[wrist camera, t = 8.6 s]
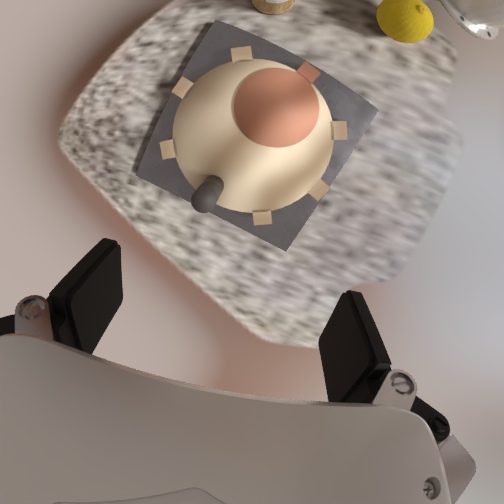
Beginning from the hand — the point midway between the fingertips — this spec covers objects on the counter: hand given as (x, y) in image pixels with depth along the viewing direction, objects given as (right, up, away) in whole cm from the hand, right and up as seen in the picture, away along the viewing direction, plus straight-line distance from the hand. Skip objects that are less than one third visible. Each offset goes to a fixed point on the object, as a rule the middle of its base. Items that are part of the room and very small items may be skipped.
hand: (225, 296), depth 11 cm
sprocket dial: (+1, +13, +14) cm, 19 cm away
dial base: (+1, +14, +16) cm, 21 cm away
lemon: (+16, +27, +8) cm, 32 cm away
